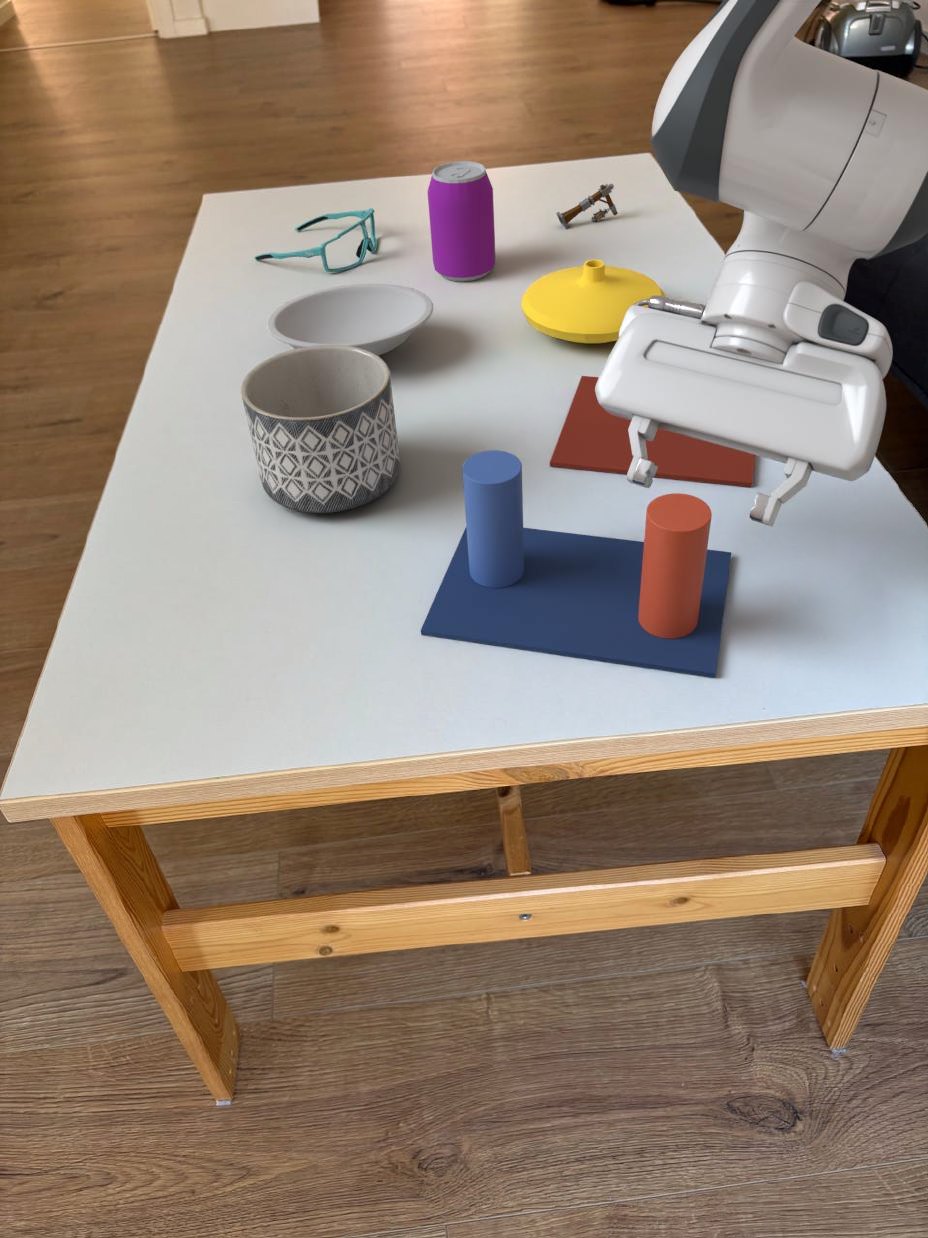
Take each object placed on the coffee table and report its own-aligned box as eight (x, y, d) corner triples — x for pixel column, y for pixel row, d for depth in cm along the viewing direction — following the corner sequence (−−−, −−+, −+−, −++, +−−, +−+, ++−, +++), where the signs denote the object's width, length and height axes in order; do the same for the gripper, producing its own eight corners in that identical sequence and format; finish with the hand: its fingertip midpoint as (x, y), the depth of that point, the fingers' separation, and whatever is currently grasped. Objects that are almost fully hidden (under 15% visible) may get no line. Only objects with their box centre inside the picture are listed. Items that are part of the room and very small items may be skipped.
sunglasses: (345, 281, 125) (336, 240, 122) (248, 277, 132) (237, 238, 129) (399, 237, 134) (392, 198, 131) (306, 235, 141) (297, 198, 138)
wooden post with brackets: (625, 211, 134) (613, 181, 131) (572, 244, 135) (559, 215, 132) (620, 206, 136) (608, 176, 133) (568, 239, 137) (555, 211, 134)
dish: (426, 316, 117) (422, 274, 114) (446, 376, 107) (443, 332, 103) (272, 337, 116) (264, 295, 112) (278, 400, 105) (269, 356, 102)
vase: (626, 284, 121) (629, 224, 116) (690, 341, 109) (696, 278, 105) (501, 310, 117) (499, 250, 113) (553, 372, 106) (553, 308, 101)
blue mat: (730, 556, 82) (731, 551, 82) (715, 678, 73) (716, 673, 72) (468, 525, 88) (468, 520, 87) (420, 634, 78) (420, 630, 77)
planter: (396, 437, 99) (384, 337, 92) (407, 513, 89) (394, 409, 82) (265, 452, 98) (243, 352, 91) (262, 530, 89) (237, 427, 82)
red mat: (762, 394, 101) (763, 390, 100) (751, 487, 89) (752, 482, 89) (581, 379, 105) (581, 375, 104) (549, 466, 93) (549, 461, 93)
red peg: (700, 603, 78) (714, 496, 71) (694, 643, 75) (708, 534, 68) (642, 596, 79) (651, 489, 72) (634, 634, 76) (642, 526, 69)
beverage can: (483, 286, 122) (478, 184, 114) (424, 280, 124) (415, 179, 116) (504, 260, 127) (501, 160, 119) (447, 255, 130) (440, 156, 122)
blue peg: (529, 557, 83) (527, 453, 76) (517, 591, 80) (514, 486, 73) (477, 550, 84) (471, 447, 77) (463, 584, 81) (455, 480, 74)
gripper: (622, 273, 74) (555, 453, 75) (911, 333, 65) (831, 537, 66) (646, 306, 80) (583, 473, 80) (914, 366, 71) (841, 553, 72)
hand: (697, 502), depth 73 cm, fingers open, 8 cm apart
